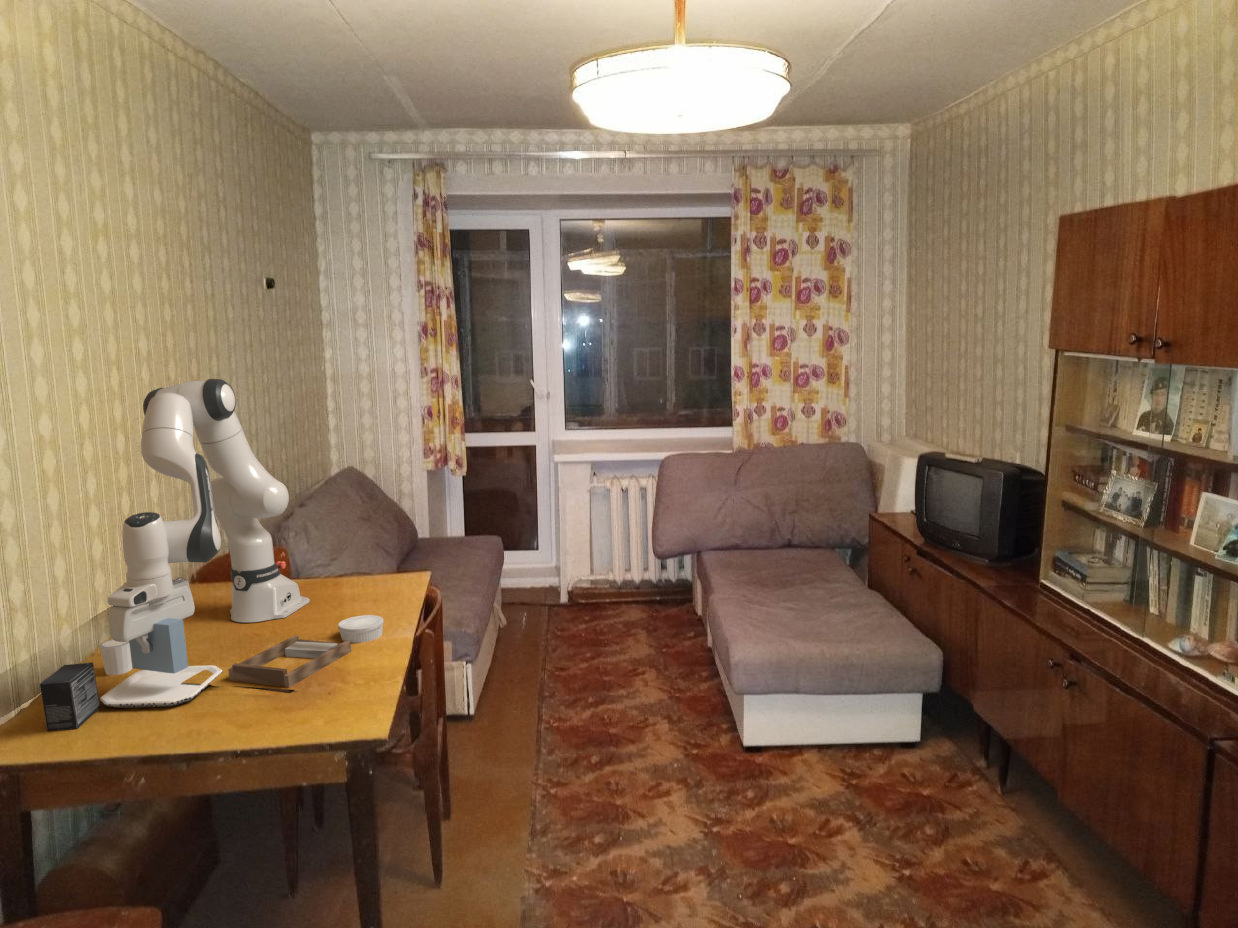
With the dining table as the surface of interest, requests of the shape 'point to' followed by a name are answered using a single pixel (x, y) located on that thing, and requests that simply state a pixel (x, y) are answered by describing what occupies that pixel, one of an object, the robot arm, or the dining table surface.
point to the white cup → (116, 657)
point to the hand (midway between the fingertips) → (157, 647)
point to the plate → (157, 688)
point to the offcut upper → (308, 649)
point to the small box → (70, 696)
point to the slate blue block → (162, 648)
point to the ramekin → (361, 628)
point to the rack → (259, 674)
